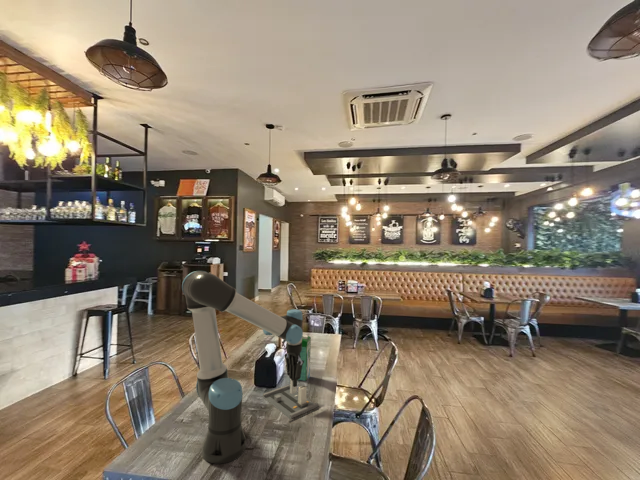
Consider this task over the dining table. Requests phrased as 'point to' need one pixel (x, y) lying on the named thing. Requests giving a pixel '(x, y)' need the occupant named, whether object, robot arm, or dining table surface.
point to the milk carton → (305, 357)
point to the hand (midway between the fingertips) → (293, 392)
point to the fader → (302, 397)
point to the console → (288, 402)
